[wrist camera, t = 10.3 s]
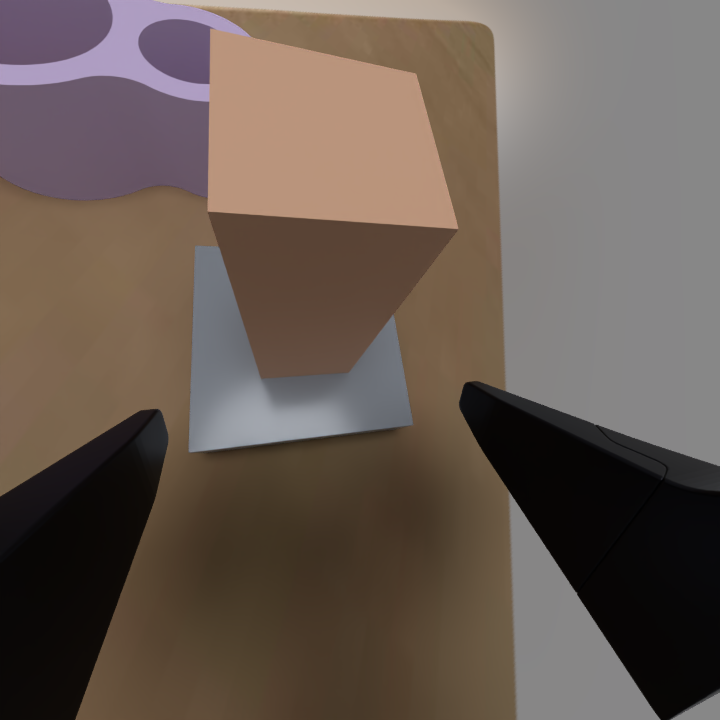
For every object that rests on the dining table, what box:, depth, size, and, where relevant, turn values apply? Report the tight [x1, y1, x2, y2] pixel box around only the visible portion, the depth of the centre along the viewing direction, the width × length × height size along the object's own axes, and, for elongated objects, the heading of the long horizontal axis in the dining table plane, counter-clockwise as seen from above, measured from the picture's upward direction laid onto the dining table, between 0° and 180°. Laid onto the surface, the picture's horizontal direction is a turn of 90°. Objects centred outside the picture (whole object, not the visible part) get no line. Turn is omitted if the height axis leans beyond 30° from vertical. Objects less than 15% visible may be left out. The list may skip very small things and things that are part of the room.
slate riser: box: [189, 246, 413, 453], centre depth 19 cm, size 12×12×3 cm
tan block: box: [208, 28, 458, 379], centre depth 12 cm, size 5×5×12 cm
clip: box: [0, 0, 250, 200], centre depth 19 cm, size 20×12×7 cm, turn 92°
